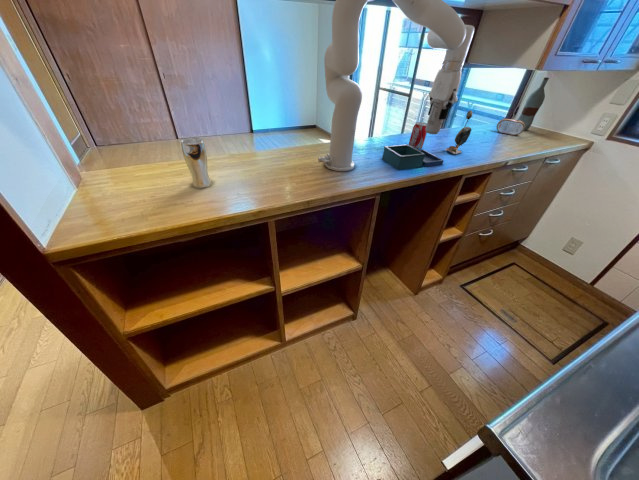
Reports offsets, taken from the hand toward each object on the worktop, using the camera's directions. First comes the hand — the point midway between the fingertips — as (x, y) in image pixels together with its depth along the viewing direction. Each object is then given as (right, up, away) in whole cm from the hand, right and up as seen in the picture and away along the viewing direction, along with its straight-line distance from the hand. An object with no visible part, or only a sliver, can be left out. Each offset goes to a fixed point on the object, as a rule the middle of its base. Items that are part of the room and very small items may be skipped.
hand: (436, 116), depth 111 cm
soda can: (0, -5, +24) cm, 25 cm away
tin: (+70, +15, +56) cm, 90 cm away
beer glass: (-91, -33, -18) cm, 99 cm away
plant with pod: (+20, -7, +23) cm, 31 cm away
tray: (-1, -15, +12) cm, 19 cm away
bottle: (+88, +23, +68) cm, 113 cm away
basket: (-13, -17, +7) cm, 23 cm away
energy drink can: (0, -5, +4) cm, 7 cm away
